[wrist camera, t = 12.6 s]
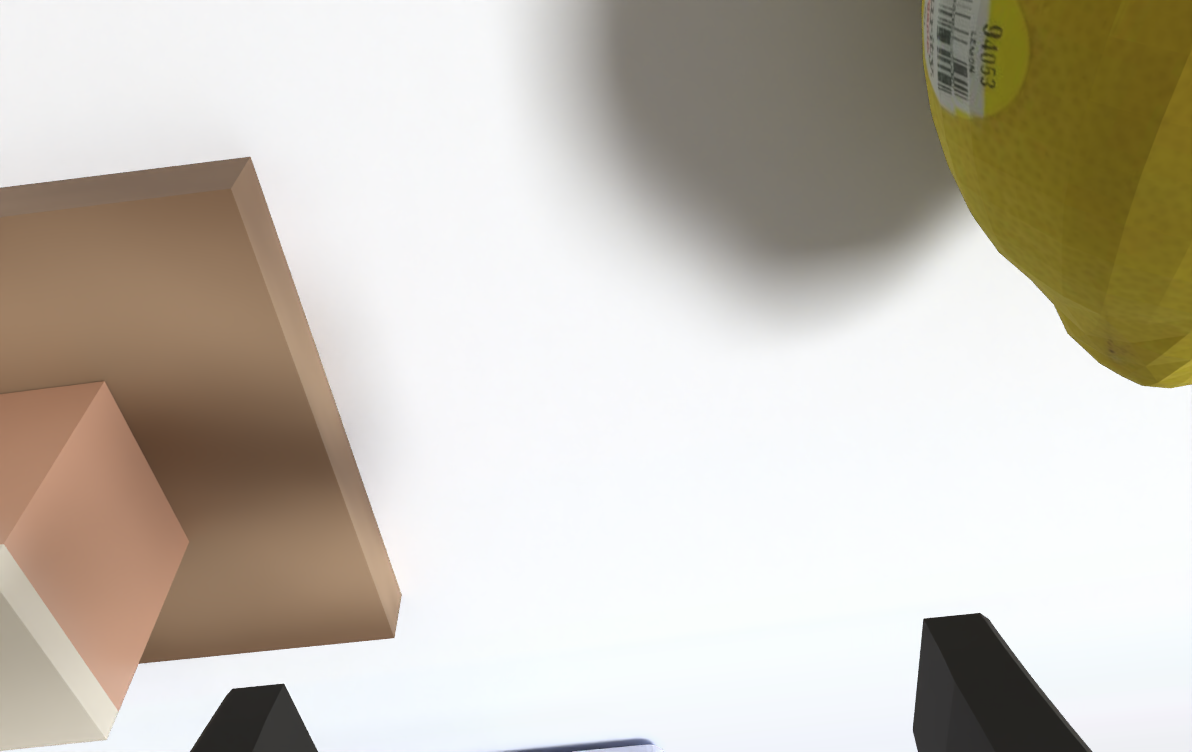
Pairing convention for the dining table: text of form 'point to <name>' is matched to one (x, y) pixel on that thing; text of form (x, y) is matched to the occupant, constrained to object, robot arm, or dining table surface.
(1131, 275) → the lemon
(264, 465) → the walnut block
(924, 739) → the robot arm
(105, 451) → the lidded terracotta box
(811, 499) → the dining table surface
